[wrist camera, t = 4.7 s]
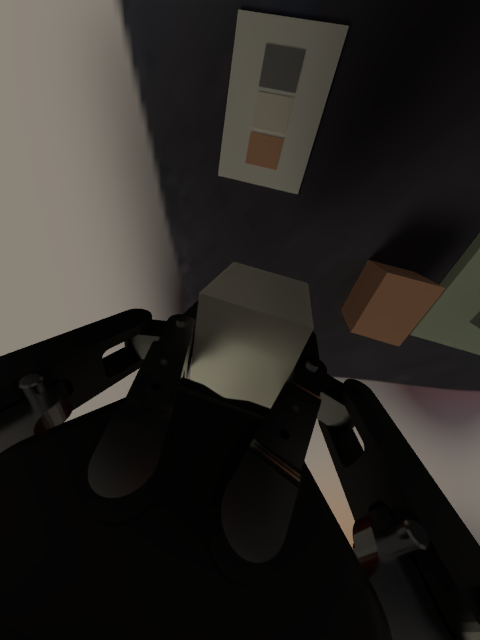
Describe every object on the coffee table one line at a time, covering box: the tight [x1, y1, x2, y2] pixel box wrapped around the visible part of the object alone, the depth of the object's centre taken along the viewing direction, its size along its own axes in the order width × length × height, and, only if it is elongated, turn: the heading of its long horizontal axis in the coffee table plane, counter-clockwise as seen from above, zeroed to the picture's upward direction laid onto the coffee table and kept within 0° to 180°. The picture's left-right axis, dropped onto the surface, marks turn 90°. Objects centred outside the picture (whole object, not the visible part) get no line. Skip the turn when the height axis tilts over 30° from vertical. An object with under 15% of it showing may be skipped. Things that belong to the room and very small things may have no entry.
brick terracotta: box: [341, 260, 446, 346], centre depth 20 cm, size 6×4×5 cm
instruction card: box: [218, 10, 349, 194], centre depth 17 cm, size 10×8×1 cm
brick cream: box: [190, 262, 314, 409], centre depth 11 cm, size 6×4×5 cm
